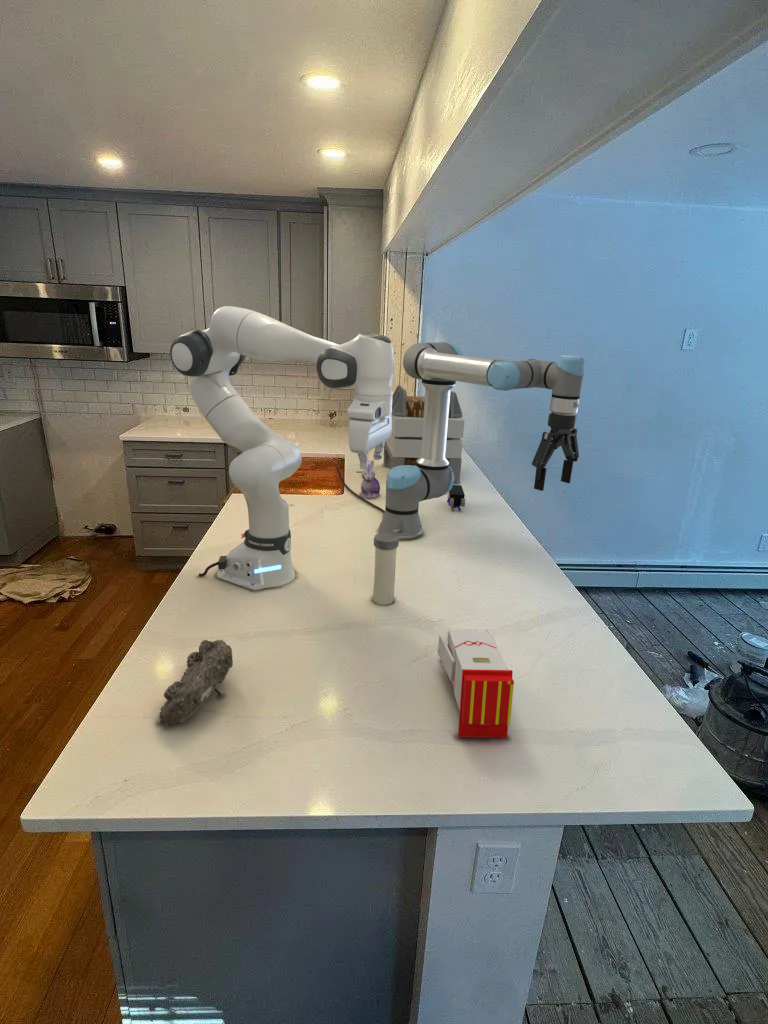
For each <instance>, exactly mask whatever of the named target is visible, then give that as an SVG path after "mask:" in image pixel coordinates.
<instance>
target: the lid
mask: <svg viewBox="0 0 768 1024" xmlns="http://www.w3.org/2000/svg"><path fill="white" fill-rule="evenodd" d="M399 543H400V540H399V537H398V536H397V535H395V534H392V533H380V532H378V533H375V535H374V536H373V546H374V548H375V547H376V548H379V549H383V550H392V549H395V548H398V547H399Z"/></svg>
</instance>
